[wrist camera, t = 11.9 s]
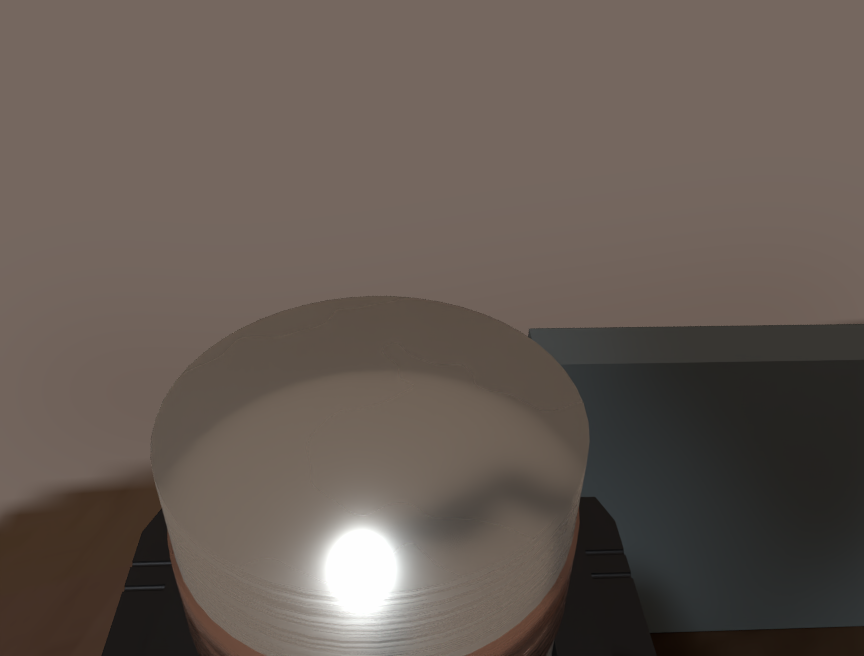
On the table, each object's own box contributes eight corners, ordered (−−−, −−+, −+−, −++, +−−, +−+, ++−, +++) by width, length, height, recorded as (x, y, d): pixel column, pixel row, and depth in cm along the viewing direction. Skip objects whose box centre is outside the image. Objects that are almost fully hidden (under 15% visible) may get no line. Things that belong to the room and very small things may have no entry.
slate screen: (994, 582, 22) (1180, 320, 16) (1023, 620, 21) (1230, 354, 15) (499, 597, 21) (529, 328, 16) (504, 637, 20) (538, 365, 15)
